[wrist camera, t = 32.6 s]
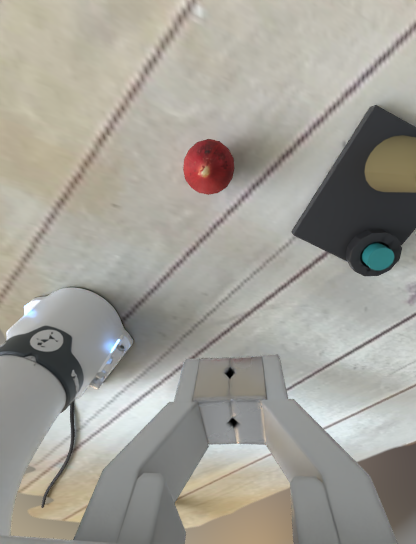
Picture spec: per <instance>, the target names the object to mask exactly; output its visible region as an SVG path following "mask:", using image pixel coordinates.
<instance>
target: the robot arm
mask: <svg viewBox="0 0 416 544" xmlns="http://www.w3.org/2000/svg"><path fill="white" fill-rule="evenodd" d="M24 313H25V315H24V316H23V317H22V318H21V319H20V320H18V321H17V322H16V323H15V324H14V325H13V326H12V327H11V328H10V329H9V330H8V331H7V333H6V335H7V341H5V342H4V343H3V344H1V345H0V544H185V536H186V532H185V529H184V527H183V524H182V521H181V519H180V516H179V514H178V511H177V509H176V506H175V504H174V503H175V501H176V500H177V498H178V496H179V495H180V493H181V491H182V490H183V488H184V487H185V485H186V483H187V482H188V480H189V478H190V477H191V475H192V473H193V472H194V470H195V468H196V467H197V465H198V463H199V462H200V460H201V458H202V457H203V455H204V453H205V452H206V450H207V448H208V447H209V446H208V444H264V445H267V447H268V449H269V451H270V452H271V454H272V455H273V457H274V459H275V460H276V462H277V463H278V465H279V466H280V468H281V470H282V471H283V473H284V474H285V476H286V477H287V479H288V481H289V482H290V489H291V509H292V526H293V542H294V544H398V543H397V540H396V538H395V536H394V533H393V531H392V528H391V526H390V523H389V521H388V518H387V516H386V514H385V511H384V509H383V506H382V504H381V501H380V499H379V496H378V494H377V492H376V489H375V487H374V484H373V482H372V479H371V477H370V475H368V473H367V472H366V471H365V470H363V468H362V467H360V466H359V464H358V463H357V462H356V461H355V460H354V459H353V458H352V457H351V456H350V455H349V454H348V453H347V452H346V451H345V450H344V449H343V448H342V447H341V446H340V445H339V444H338V443H337V442H336V441H335V440H334V439H333V438H332V437H331V436H330V435H329V434H328V433H327V432H326V431H325V430H324V429H323V428H322V427H321V426H320V425H319V424H318V423H317V422H316V421H315V420H314V419H313V418H312V417H311V416H310V415H309V414H308V413H307V412H306V411H305V410H304V409H303V408H302V407H301V406H300V405H299V404H298V403H297V402H296V401H295V400H294V399H288V395H287V391H286V386H285V381H284V376H283V371H282V366H281V362H280V357H279V355H278V354H275V355H262V356H246V357H231V358H201V359H186V360H185V362H184V364H183V368H182V372H181V376H180V379H179V383H178V387H177V391H176V395H175V399H174V402H169V403H168V404H167V405H166V406H165V407H164V408H163V409H162V410H161V411H160V412H159V413H158V414H157V415H156V416H155V417H154V418H153V419H152V420H151V421H150V422H149V423H148V424H147V425H146V426H145V427H144V428H143V429H142V430H141V431H140V432H139V433H138V434H137V435H136V436H135V437H134V438H133V440H132V441H131V442H130V443H129V444H128V445H127V446H126V447H125V448H124V449H123V450H122V451H121V452H120V453H119V454H118V455H117V456H116V457H115V458H114V459H113V460H112V461H111V462H110V463H109V464H108V465H107V466H106V467H105V468H104V469H103V471H102V473H101V476H100V478H99V480H98V483H97V485H96V487H95V490H94V492H93V494H92V497H91V499H90V501H89V504H88V506H87V508H86V511H85V513H84V515H83V518H82V520H81V523H80V525H79V527H78V530H77V532H76V534H75V537H74V539H73V540H63V539H50V538H36V537H21V536H11V522H12V515H13V509H14V504H15V500H16V496H17V493H18V489H19V487H20V484H21V481H22V479H23V476H24V474H25V471H26V469H27V467H28V465H29V463H30V461H31V460H32V458H33V456H34V454H35V452H36V451H37V449H38V447H39V446H40V444H41V442H42V440H43V439H44V437H45V435H46V434H47V432H48V431H49V429H50V427H51V426H52V424H53V423H54V421H55V420H56V418H57V417H58V415H59V414H60V413H62V412H63V411H64V410H66V408H67V407H68V406H69V405H70V423H71V444H70V450H69V453H68V456H67V459H66V461H65V463H64V465H63V466H62V468H61V470H60V471H59V473H58V474H57V475H56V477H55V478H54V480H53V481H52V482H51V484H50V486H49V487H48V489H47V490H46V492H45V495H44V497H43V502H42V506H41V507H42V508H43V507H44V504H45V500H46V496H47V494H48V492H49V490H50V489H51V487H52V486H53V484H54V483H55V481H56V480H57V479H58V477H59V476H60V474H61V473H62V471H63V470H64V468H65V467H66V465H67V463H68V461H69V459H70V456H71V453H72V450H73V445H74V437H75V429H74V400H75V399H78V398H80V397H81V396H82V395H83V393H84V392H85V390H86V389H87V387H93V388H95V389H99V388H100V386H101V384H102V383H103V382H104V380H105V379H106V378H107V377H108V375H109V374H110V373H111V371H112V370H113V369H114V367H115V366H116V365H117V364H118V362H119V361H120V360H121V358H122V357H123V356H124V355H125V353H126V352H127V351H128V349H129V348H130V347H131V345H132V344H133V339H132V337H131V336H130V335H129V334H128V332H127V331H126V330H125V329H124V327H123V325H122V322H121V319H120V317H119V315H118V313H117V312H116V310H115V309H114V308H113V307H112V306H111V304H110V303H108V302H107V301H106V300H105V299H104V298H102V297H101V296H99V295H97V294H95V293H93V292H91V291H89V290H85V289H81V288H74V287H70V288H63V289H59V290H57V291H55V292H53V293H52V294H50V295H48V296H44V297H36V298H34V299H33V300H31V301H30V303H28V304H27V305H26V306H24ZM122 345H123V346H122Z"/></svg>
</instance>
